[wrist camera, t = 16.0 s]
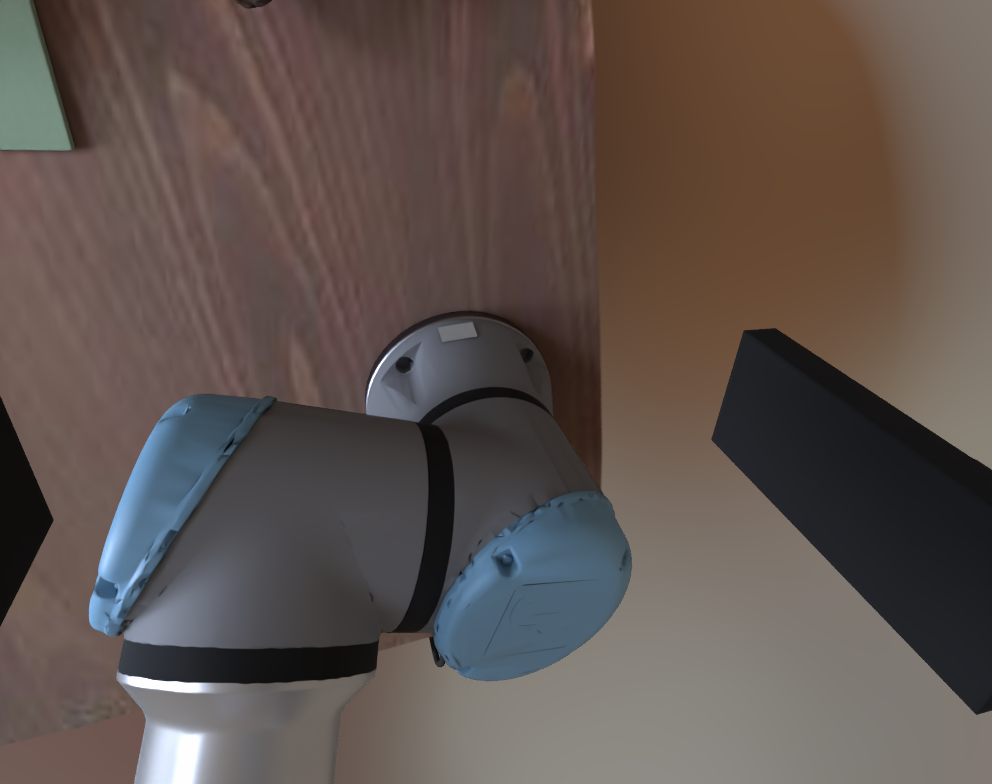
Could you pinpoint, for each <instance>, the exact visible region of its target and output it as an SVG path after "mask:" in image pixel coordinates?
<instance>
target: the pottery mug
mask: <svg viewBox="0 0 992 784" xmlns="http://www.w3.org/2000/svg"><path fill="white" fill-rule="evenodd" d="M235 1H236V2H237V3H238V4H240V5H241V6H243V7H244V8H255V7H262V6H264V5H266V4H268V3H269V2H270V1H272V0H235Z"/></svg>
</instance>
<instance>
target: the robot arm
mask: <svg viewBox="0 0 992 784" xmlns="http://www.w3.org/2000/svg"><path fill="white" fill-rule="evenodd" d="M365 408H366V414H361V413H354V412H347V411H340V410H333V409H327V408H320V407H313V406H306V405H299V404H293V403H286V402H279V401H277V398H275V397H272V396H266V397H264V398H263V399H256V398H246V397H236V396H226V395H215V394H197V395H192V396H189V397H186V398H184V399H182V400H180V401H178V402H177V403H175V404H174V405H173V406H171V407H170V408H169V409H168V410H167V411H166V412H165V413H164V415H163V416H162V417H161V419H160V420H159V421H158V423H157V424H156V426H155V428H154V429H153V431H152V433H151V434H150V436H149V438H148V440H147V442H146V444H145V446H144V448H143V450H142V452H141V454H140V456H139V458H138V460H137V463H136V465H135V467H134V469H133V472H132V474H131V476H130V478H129V481H128V483H127V486H126V488H125V491H124V493H123V496H122V498H121V501H120V503H119V506H118V509H117V511H116V514H115V517H114V520H113V522H112V525H111V528H110V531H109V534H108V537H107V540H106V543H105V546H104V549H103V553H102V557H101V560H100V564H99V567H98V572H99V575H98V578H97V581H96V585H95V588H94V591H93V594H92V597H91V600H90V606H89V621H90V624H91V626H92V627H93V628H94V629H96V630H99V631H102V632H104V633H105V634H106V635H107V636H119V635H121V634H122V632H124V643H123V648H122V652H121V657H120V662H119V667H118V672H117V680H118V682H119V683H120V684H121V685H122V686H123V687H124V689H125V690H126V691H127V692H128V693H129V694H130V696H131V697H132V698H133V699H134V700H135V702H136V703H137V704H138V705H139V706H140V707H141V709H142V710H143V712H144V715H145V718H146V725H145V730H144V736H143V740H142V745H141V751H140V756H139V761H138V766H137V772H136V777H135V782H134V784H334V777H335V766H336V757H337V747H338V737H339V727H340V717H341V712H342V711H343V709H344V707H345V706H346V704H348V702H350V700H351V699H352V698H353V697H354V696H355V695H356V694H357V693H358V692H359V691H360V690H361V689H362V688H363V687H364V686H365V685H366V684H367V683H368V682H369V681H370V680H371V679H372V678H373V677H374V676H375V672H376V666H377V655H378V643H379V637H380V634H381V633H386V632H387V633H433V636H432V637H429V640H430V645H431V649H432V654H433V659H434V662H435V664H436V665H437V666H438V667H442V666H444V664H445V662H446V663H447V665H448V666H449V667H451V668H453V669H456V670H457V671H458V673H459V674H460V675H462V676H464V677H467V678H470V679H474V680H481V681H482V680H483V681H498V680H507V679H512V678H517V677H521V676H524V675H527V674H530V673H533V672H536V671H538V670H540V669H543V668H545V667H547V666H550V665H552V664H553V663H555V662H557V661H559V660H561V659H563V658H564V657H566V656H567V655H569V654H570V653H571V652H573V651H574V650H576V649H577V648H579V647H580V646H582V645H583V644H584V643H586V642H587V641H588V640H589V639H590V638H591V637H593V636H594V635H595V634H596V633H597V632H598V631H599V630H600V629H601V628H602V627H603V626H604V625H605V624H606V622H607V621H608V620H609V619H610V617H611V616H612V615H613V613H614V612H615V610H616V609H617V608H618V606H619V604H620V602H621V601H622V599H623V597H624V595H625V592H626V590H627V587H628V584H629V581H630V576H631V569H632V557H631V551H630V547H629V544H628V541H627V539H626V537H625V535H624V533H623V531H622V529H621V528H620V526H619V524H618V522H617V520H616V518H615V513H614V510H613V507H612V504H611V502H610V501H609V500H608V498H606V496H604V494H603V493H602V491H601V490H600V488H599V487H598V485H597V483H596V482H595V480H594V479H593V477H592V476H591V474H590V473H589V471H588V470H587V468H586V467H585V465H584V464H583V462H582V461H581V459H580V457H579V456H578V454H577V453H576V451H575V450H574V448H573V447H572V445H571V444H570V442H569V441H568V439H567V438H566V436H565V435H564V433H563V431H562V430H561V428H560V427H559V425H558V424H557V422H556V421H555V419H554V418H553V403H552V388H551V380H550V376H549V373H548V370H547V367H546V364H545V362H544V360H543V358H542V356H541V354H540V352H539V351H538V349H537V348H536V346H535V345H534V344H533V342H532V341H531V339H530V338H529V337H528V336H527V335H526V334H525V333H524V332H523V331H522V330H520V329H519V328H518V327H517V326H515V325H514V324H512V323H510V322H508V321H507V320H505V319H502V318H500V317H497V316H494V315H491V314H486V313H481V312H472V311H460V312H451V313H445V314H441V315H437V316H434V317H431V318H428V319H426V320H423V321H421V322H419V323H417V324H415V325H413V326H411V327H410V328H408V329H407V330H405V331H404V332H402V333H401V334H400V335H398V336H397V337H396V338H395V339H394V340H393V341H392V342H391V343H390V344H389V345H388V346H387V347H386V348H385V349H384V350H383V352H382V353H381V354H380V356H379V357H378V359H377V361H376V362H375V364H374V366H373V368H372V370H371V372H370V375H369V378H368V381H367V386H366V392H365ZM712 441H713V442H714V443H715V444H716V445H717V446H718V447H719V448H720V449H721V450H722V451H723V452H724V453H725V454H726V455H727V456H728V457H729V458H730V460H731V461H732V462H733V463H735V465H736V466H737V467H738V468H739V469H740V470H741V471H742V472H743V473H744V474H745V475H746V476H747V477H748V478H749V479H750V480H751V481H752V482H753V483H754V484H755V485H756V486H757V488H758V489H759V490H760V491H761V492H762V493H763V494H764V495H765V496H766V497H767V498H768V499H769V500H770V501H771V502H772V503H773V504H774V505H775V506H776V507H777V508H778V509H779V510H780V511H781V512H782V513H783V515H784V516H785V517H786V518H787V519H788V520H789V521H790V522H791V523H792V524H793V525H794V526H795V527H796V528H797V529H798V530H799V531H800V532H801V533H802V534H803V535H804V536H805V537H806V538H807V539H808V541H810V543H811V544H812V545H813V546H814V547H815V548H816V549H817V550H818V551H819V552H820V553H821V554H822V555H823V556H824V557H825V558H826V559H827V560H828V561H829V562H830V563H831V564H832V565H833V566H834V567H835V569H836V570H837V571H838V572H839V573H840V574H841V575H842V576H843V577H844V578H845V579H846V580H847V581H848V582H849V583H850V584H851V585H852V586H853V587H854V588H855V589H856V590H857V591H858V592H859V593H860V595H862V597H863V598H864V599H865V600H866V601H867V602H868V603H869V604H870V605H871V606H872V607H873V608H874V609H875V610H876V611H877V612H878V613H879V614H880V615H881V616H882V617H883V618H884V619H885V620H886V621H887V623H889V624H890V625H891V626H892V628H893V629H894V630H895V631H896V632H897V633H898V634H899V635H900V636H901V637H902V638H903V639H904V640H905V641H906V642H907V643H908V644H909V645H910V646H911V647H912V648H913V650H914V651H915V652H916V653H917V654H918V655H919V656H920V657H921V658H922V659H923V660H924V661H925V662H926V663H927V664H928V665H929V666H930V667H931V668H932V669H933V670H934V671H935V672H936V673H937V674H938V675H939V677H940V678H941V679H943V681H944V682H945V683H946V684H947V685H948V686H949V687H950V688H951V689H952V690H953V691H954V692H955V693H956V694H957V695H958V696H959V697H960V698H961V699H962V700H963V701H964V702H965V704H966V705H967V706H968V707H969V708H970V709H971V710H972V711H973V712H974V713H975V714H976V715H977V714H981V713H984V712H988V711H991V710H992V470H991V469H990V468H988V467H987V466H985V465H984V464H982V463H980V462H979V461H977V460H975V459H973V458H971V457H970V456H968V455H967V454H965V453H964V452H962V451H960V450H959V449H957V448H956V447H955V446H953V445H951V444H950V443H948V442H947V441H945V440H944V439H942V438H941V437H939V436H938V435H936V434H935V433H933V432H932V431H930V430H929V429H927V428H926V427H924V426H923V425H921V424H920V423H918V422H917V421H915V420H913V419H912V418H911V417H909V416H908V415H906V414H904V413H903V412H901V411H900V410H898V409H897V408H895V407H894V406H892V405H891V404H889V403H888V402H886V401H885V400H883V399H882V398H880V397H878V396H877V395H876V394H874V393H873V392H871V391H870V390H868V389H867V388H865V387H864V386H862V385H861V384H859V383H858V382H856V381H854V380H853V379H851V378H850V377H848V376H847V375H845V374H844V373H842V372H841V371H839V370H838V369H836V368H835V367H833V366H832V365H830V364H829V363H827V362H826V361H824V360H823V359H821V358H820V357H818V356H816V355H815V354H813V353H812V352H811V351H809V350H807V349H806V348H804V347H803V346H801V345H800V344H798V343H797V342H795V341H794V340H792V339H791V338H789V337H788V336H786V335H785V334H783V333H782V332H780V331H779V330H777V329H775V328H773V329H758V330H744V332H743V335H742V338H741V342H740V345H739V349H738V352H737V355H736V359H735V362H734V365H733V369H732V372H731V376H730V379H729V383H728V386H727V389H726V392H725V396H724V399H723V402H722V406H721V409H720V413H719V416H718V420H717V423H716V426H715V430H714V433H713V436H712ZM52 522H53V517H52V515H51V513H50V511H49V508H48V506H47V504H46V501H45V499H44V497H43V494H42V492H41V490H40V487H39V485H38V483H37V480H36V478H35V476H34V473H33V471H32V469H31V466H30V464H29V462H28V459H27V457H26V455H25V452H24V450H23V448H22V445H21V443H20V441H19V438H18V436H17V434H16V431H15V429H14V427H13V424H12V422H11V420H10V418H9V415H8V413H7V411H6V408H5V406H4V404H3V401H2V399H1V397H0V626H1V624H2V622H3V620H4V618H5V616H6V614H7V612H8V610H9V608H10V606H11V604H12V602H13V600H14V598H15V596H16V594H17V592H18V590H19V588H20V586H21V584H22V582H23V580H24V578H25V576H26V574H27V572H28V570H29V568H30V566H31V564H32V562H33V560H34V558H35V556H36V554H37V552H38V550H39V548H40V546H41V544H42V542H43V540H44V538H45V536H46V534H47V532H48V530H49V528H50V526H51V524H52ZM439 654H440V656H439Z"/></svg>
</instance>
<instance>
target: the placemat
mask: <svg viewBox="0 0 992 784" xmlns="http://www.w3.org/2000/svg"><path fill="white" fill-rule="evenodd" d="M74 149H75V145H74V142H73V138H72V135H71V131H70V128H69V124H68V121H67V117H66V114H65V110H64V107H63V103H62V100H61V96H60V93H59V89H58V86H57V82H56V79H55V75H54V71H53V68H52V64H51V61H50V57H49V54H48V50H47V47H46V43H45V40H44V36H43V33H42V29H41V26H40V22H39V19H38V15H37V12H36V8H35V5H34V1H33V0H0V150H69V151H72V150H74Z"/></svg>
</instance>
